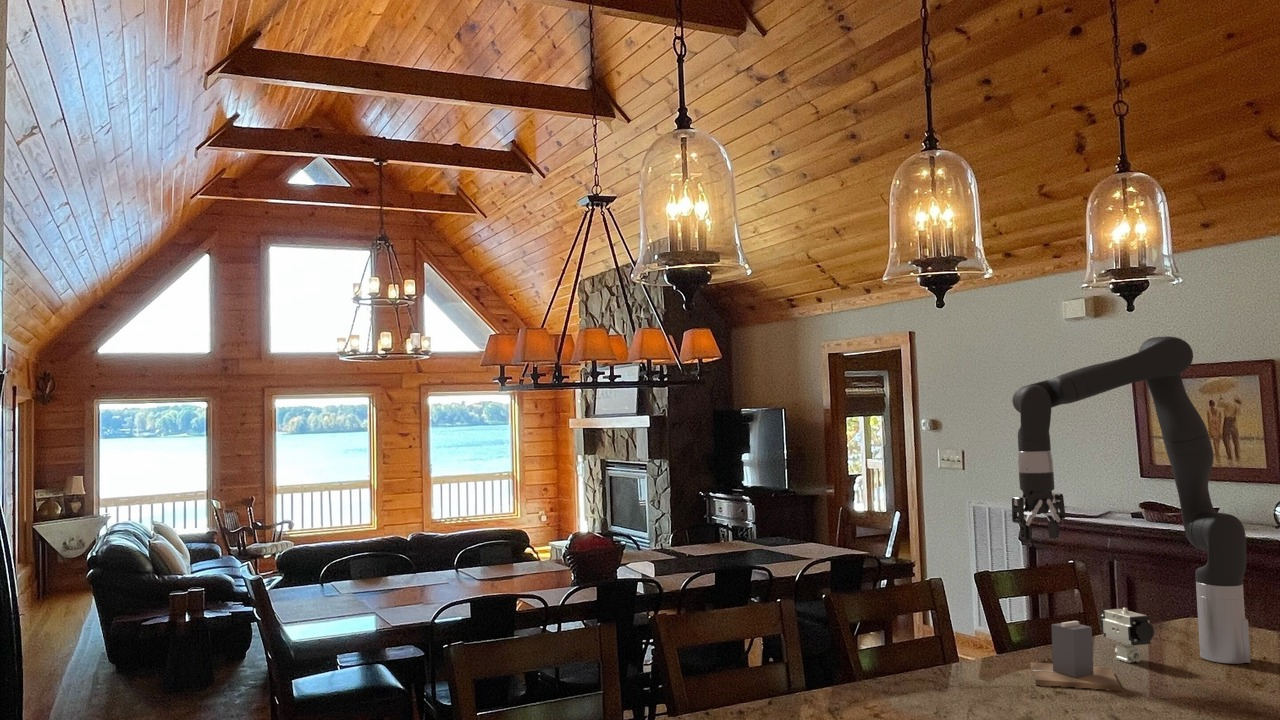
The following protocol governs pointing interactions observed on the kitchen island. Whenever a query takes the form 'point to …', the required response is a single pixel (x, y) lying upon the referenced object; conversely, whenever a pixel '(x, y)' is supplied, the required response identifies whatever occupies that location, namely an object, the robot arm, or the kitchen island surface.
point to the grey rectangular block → (1072, 649)
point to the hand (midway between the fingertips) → (1040, 539)
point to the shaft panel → (1099, 680)
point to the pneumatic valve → (1126, 632)
